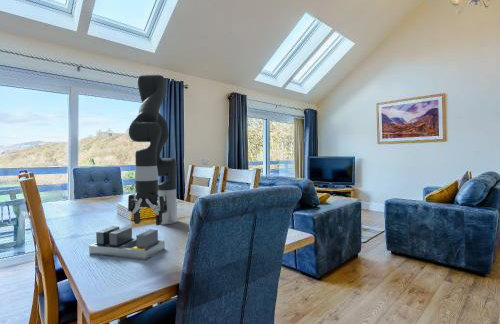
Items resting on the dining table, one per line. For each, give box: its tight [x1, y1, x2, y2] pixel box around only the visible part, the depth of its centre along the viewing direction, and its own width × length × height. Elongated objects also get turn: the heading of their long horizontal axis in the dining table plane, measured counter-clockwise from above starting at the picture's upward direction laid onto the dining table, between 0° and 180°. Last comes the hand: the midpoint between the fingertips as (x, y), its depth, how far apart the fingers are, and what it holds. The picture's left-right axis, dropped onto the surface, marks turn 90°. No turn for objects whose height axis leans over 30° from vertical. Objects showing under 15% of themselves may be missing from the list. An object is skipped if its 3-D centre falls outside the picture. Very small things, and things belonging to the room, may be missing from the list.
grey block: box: [135, 228, 159, 250], centre depth 97 cm, size 8×3×7 cm, turn 165°
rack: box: [88, 225, 166, 261], centre depth 99 cm, size 23×11×8 cm, turn 75°
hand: (147, 224), depth 97 cm, fingers open, 8 cm apart
